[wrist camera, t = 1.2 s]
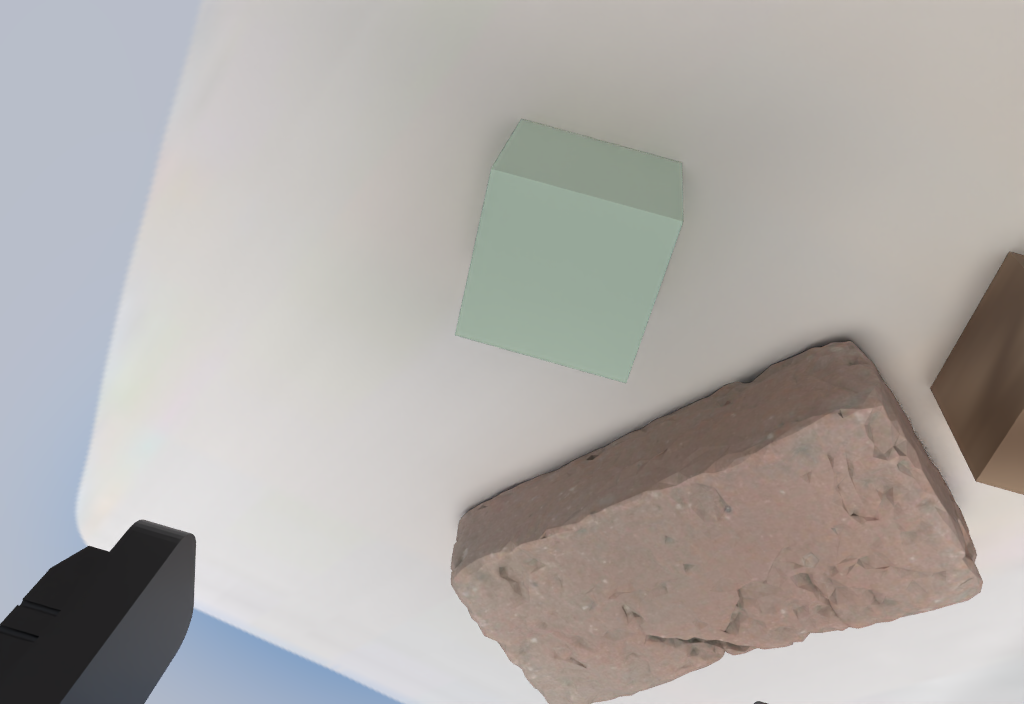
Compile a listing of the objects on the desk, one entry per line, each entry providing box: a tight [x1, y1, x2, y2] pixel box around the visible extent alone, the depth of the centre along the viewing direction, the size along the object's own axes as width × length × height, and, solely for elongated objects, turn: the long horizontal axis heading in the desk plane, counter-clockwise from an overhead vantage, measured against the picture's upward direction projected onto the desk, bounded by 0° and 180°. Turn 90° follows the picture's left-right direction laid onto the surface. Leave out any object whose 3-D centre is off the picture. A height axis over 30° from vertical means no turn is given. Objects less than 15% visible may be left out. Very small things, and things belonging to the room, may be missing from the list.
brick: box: [451, 341, 983, 704], centre depth 30 cm, size 17×8×5 cm, turn 125°
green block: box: [455, 119, 683, 383], centre depth 25 cm, size 5×5×5 cm
